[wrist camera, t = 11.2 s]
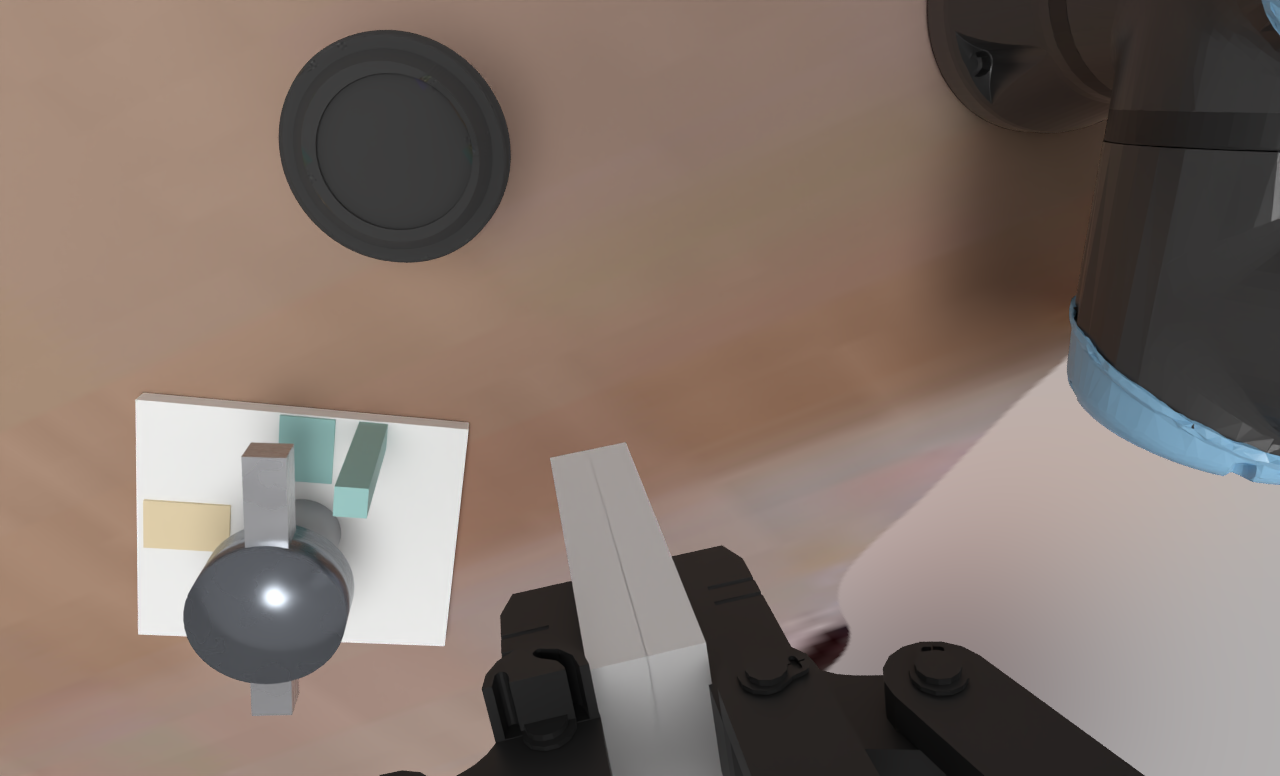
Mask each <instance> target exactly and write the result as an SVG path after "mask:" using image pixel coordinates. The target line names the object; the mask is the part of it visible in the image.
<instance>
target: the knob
mask: <svg viewBox="0 0 1280 776" xmlns="http://www.w3.org/2000/svg"><path fill="white" fill-rule="evenodd" d="M241 463H242V488H243V512H244V529H243V530H241V531H238V532H237V533H235V534H233V535H231V536H230V537H228V538H227V539H226V540H224V541H223V542H222V543H221V544H220V545H219V546H218V547H217V548H216V549H215V550H214V552H213V553H212V554H211V556H210V557H209V559H208V561H207V563H206V564H205V566H204V568H203V569H202V571H201V573H200V574H199V576H198V578H197V579H196V581H195V583H194V584H193V586H192V588H191V590H190V592H189V593H188V596H187V598H186V601H185V605H184V611H183V622H184V629H185V632H186V635H187V638H188V640H189V642H190V644H191V646H192V647H193V649H194V650H195V652H196V653H197V654H198V655H199V657H200V658H201V659H202V660H203V661H204V662H206V663H207V664H208V665H209V666H210V667H212V668H213V669H215V670H216V671H218V672H220V673H222V674H224V675H226V676H228V677H231V678H233V679H236V680H240V681H244V682H248V683H250V684H251V709H252V716H264V715H292V714H293V711H294V707H295V704H296V701H297V698H298V695H299V678H301V677H304V676H306V675H308V674H310V673H312V672H314V671H316V670H317V669H318V668H320V667H321V666H322V665H324V664H325V663H326V662H327V661H328V660H329V659H330V658H331V657H332V655H333V654H334V653H335V652H336V650H337V648H338V647H339V645H340V643H341V641H342V638H343V635H344V632H345V628H346V624H347V620H348V616H349V612H350V609H351V605H352V601H353V597H354V578H353V574H352V571H351V568H350V566H349V563H348V562H347V560H346V558H345V556H344V555H343V554H342V552H341V551H340V550H339V549H338V548H337V547H336V546H335V545H334V544H333V543H332V542H331V541H329V540H328V539H327V538H325V537H324V536H322V535H320V534H318V533H317V532H314V531H312V530H310V529H307V528H304V527H301V526H297V525H296V514H295V464H294V444H286V443H255V442H251V443H250V445H249V446H248V448H247V449H246V451H245V452H244V454H243V455H242V456H241Z"/></svg>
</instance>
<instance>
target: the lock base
mask: <svg viewBox="0 0 1280 776" xmlns="http://www.w3.org/2000/svg"><path fill="white" fill-rule="evenodd" d="M468 430H469V422H459V421H448V420H438V419H427V418H416V417H405V416H394V415H383V414H372V413H361V412H350V411H339V410H329V409H318V408H307V407H296V406H285V405H274V404H263V403H252V402H241V401H231V400H220V399H209V398H198V397H187V396H176V395H165V394H154V393H143V394H141V395H140V396H139V397H138V398H137V399H136V483H137V569H138V634H142V635H168V636H187V635H186V632H185V629H184V622H183V611H184V605H185V601H186V598H187V596H188V593H189V592H190V590H191V588H192V586H193V584H194V583H195V581H196V579H197V578H198V576H199V574H200V573H201V571H202V569H203V568H204V566H205V564H206V563H207V561H208V559H209V557H210V556H211V554H212V553H213V552H214V550H215V549H216V548H217V547H218V546H219V545H220V544H221V543H222V542H223V541H224V540H226V539H227V538H228V537H230V536H231V535H233V534H235V533H237V532H238V531H241V530H243V529H244V512H243V488H242V463H241V456H242V455H243V454H244V452H245V451H246V449H247V448H248V446H249V445H250V443H251V442H255V443H286V444H294V464H295V514H296V525H297V526H301V527H304V528H307V529H310V530H312V531H314V532H317V533H318V534H320V535H322V536H324V537H325V538H327V539H328V540H329V541H331V542H332V543H333V544H334V545H335V546H336V547H337V548H338V549H339V550H340V551H341V552H342V554H343V555H344V556H345V558H346V560H347V562H348V563H349V566H350V568H351V571H352V574H353V578H354V597H353V601H352V605H351V609H350V612H349V616H348V620H347V624H346V628H345V632H344V635H343V638H342V641H341V642H352V643H378V644H405V645H431V646H445V638H446V629H447V620H448V611H449V602H450V593H451V584H452V575H453V566H454V557H455V548H456V539H457V530H458V521H459V512H460V503H461V494H462V484H463V475H464V466H465V457H466V448H467V439H468Z"/></svg>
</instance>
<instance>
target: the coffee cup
mask: <svg viewBox="0 0 1280 776" xmlns="http://www.w3.org/2000/svg"><path fill="white" fill-rule="evenodd" d="M279 150H280V157H281V162H282V166H283V170H284V173H285V176H286V179H287V182H288V184H289V186H290V189H291V191H292V193H293V195H294V196H295V198H296V200H297V201H298V203H299V205H300V206H301V207H302V209H303V210H304V212H305V213H306V214H307V215H308V217H309V218H310V219H311V220H312V221H313V222H314V223H315V224H316V225H317V226H318V227H319V228H320V229H321V230H322V231H323V232H324V233H326V234H327V235H328V236H329V237H331V238H332V239H334V240H335V241H336V242H338V243H340V244H341V245H343V246H345V247H347V248H348V249H350V250H352V251H355V252H357V253H359V254H362V255H365V256H368V257H371V258H375V259H379V260H384V261H391V262H406V263H408V262H422V261H428V260H432V259H436V258H439V257H442V256H445V255H447V254H450V253H452V252H454V251H456V250H457V249H459V248H461V247H462V246H464V245H465V244H467V243H468V242H469V241H471V240H472V239H473V238H474V237H475V236H476V235H477V234H478V233H479V232H480V231H481V230H482V229H483V227H484V226H485V225H486V224H487V223H488V221H489V220H490V219H491V217H492V216H493V214H494V213H495V211H496V209H497V208H498V206H499V204H500V202H501V199H502V197H503V195H504V192H505V189H506V185H507V182H508V177H509V171H510V160H511V150H510V139H509V133H508V128H507V124H506V121H505V118H504V115H503V112H502V110H501V107H500V105H499V103H498V101H497V99H496V97H495V95H494V94H493V92H492V90H491V89H490V87H489V86H488V84H487V83H486V81H485V80H484V79H483V78H482V76H481V75H480V74H479V73H478V72H477V71H476V70H475V69H474V68H473V66H471V65H470V64H469V63H468V62H467V61H466V60H465V59H464V58H462V57H461V56H460V55H458V54H457V53H456V52H454V51H453V50H451V49H449V48H448V47H446V46H444V45H442V44H440V43H439V42H437V41H434V40H432V39H429V38H427V37H424V36H421V35H418V34H414V33H409V32H404V31H396V30H376V31H368V32H362V33H358V34H354V35H351V36H348V37H345V38H343V39H341V40H338V41H336V42H334V43H332V44H331V45H329V46H327V47H326V48H324V49H323V50H321V51H320V52H318V53H317V54H316V55H315V56H314V57H312V58H311V59H310V60H309V61H308V62H307V63H306V65H305V66H304V67H303V68H302V69H301V71H300V72H299V73H298V75H297V76H296V78H295V80H294V82H293V83H292V85H291V87H290V89H289V91H288V94H287V96H286V99H285V102H284V105H283V108H282V112H281V117H280V124H279Z"/></svg>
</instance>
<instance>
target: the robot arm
mask: <svg viewBox="0 0 1280 776" xmlns="http://www.w3.org/2000/svg"><path fill="white" fill-rule="evenodd" d="M928 25H929V33H930V39H931V44H932V48H933V52H934V55H935V58H936V61H937V63H938V66H939V68H940V71H941V73H942V75H943V76H944V78H945V80H946V82H947V83H948V85H949V87H950V88H951V90H952V91H953V92H954V94H955V95H956V96H957V97H958V98H959V100H960V101H961V102H962V103H963V104H964V105H965V106H966V107H967V108H969V109H970V110H971V111H972V112H974V113H975V114H976V115H978V116H979V117H981V118H982V119H984V120H986V121H988V122H990V123H992V124H995V125H997V126H1000V127H1003V128H1006V129H1011V130H1016V131H1025V132H1041V133H1058V132H1066V131H1071V130H1076V129H1081V128H1084V127H1088V126H1090V125H1093V124H1096V123H1098V122H1101V121H1103V120H1105V119H1107V118H1108V120H1107V125H1106V131H1105V137H1104V141H1103V144H1102V150H1101V156H1100V161H1099V167H1098V173H1097V179H1096V184H1095V190H1094V196H1093V201H1092V207H1091V213H1090V219H1089V224H1088V230H1087V236H1086V242H1085V247H1084V253H1083V259H1082V265H1081V270H1080V276H1079V282H1078V287H1077V293H1076V295H1075V296H1074V297H1073V298H1072V300H1071V304H1070V308H1069V319H1070V323H1071V327H1072V330H1071V338H1070V346H1069V354H1068V363H1067V375H1068V381H1069V384H1070V386H1071V388H1072V389H1073V391H1074V393H1075V395H1076V397H1077V400H1078V402H1079V403H1080V404H1081V406H1082V407H1083V408H1084V409H1085V410H1086V411H1087V412H1088V413H1089V414H1090V415H1091V416H1092V417H1093V418H1094V419H1095V420H1096V421H1098V422H1099V423H1100V424H1102V425H1103V426H1105V427H1106V428H1107V429H1109V430H1110V431H1111V432H1113V433H1115V434H1116V435H1118V436H1119V437H1121V438H1123V439H1125V440H1127V441H1129V442H1131V443H1132V444H1134V445H1136V446H1138V447H1141V448H1143V449H1145V450H1147V451H1149V452H1151V453H1153V454H1156V455H1158V456H1161V457H1163V458H1166V459H1168V460H1171V461H1173V462H1176V463H1179V464H1182V465H1185V466H1188V467H1191V468H1194V469H1198V470H1201V471H1205V472H1208V473H1212V474H1217V475H1221V476H1224V475H1226V474H1228V473H1229V472H1233V473H1235V474H1238V475H1240V476H1242V477H1244V478H1246V479H1248V480H1250V481H1252V482H1257V483H1266V484H1275V485H1280V0H928ZM550 460H551V466H552V472H553V477H554V483H555V489H556V494H557V500H558V506H559V511H560V517H561V523H562V528H563V534H564V540H565V545H566V551H567V557H568V562H569V568H570V574H571V579H572V581H570V582H565V583H561V584H556V585H552V586H547V587H543V588H538V589H534V590H529V591H525V592H520V593H516V594H512V596H511V598H510V600H509V601H508V603H507V605H506V606H505V608H504V610H503V612H502V613H501V615H500V618H501V639H502V640H501V653H502V659H500V660H499V661H497V662H496V663H495V665H494V666H493V667H492V668H491V669H490V671H489V672H488V673H487V674H486V676H485V680H484V683H483V687H482V692H483V695H484V699H485V703H486V707H487V711H488V715H489V718H490V722H491V726H492V730H493V734H494V738H495V742H496V744H495V745H494V746H493V747H492V749H491V750H490V751H489V752H488V754H487V755H486V756H484V757H483V758H482V759H481V760H480V761H479V762H478V763H476V764H475V765H474V766H472V767H471V768H469V769H467V770H466V771H464V772H462V773H461V774H459V775H457V776H1144V775H1143V774H1142V773H1140V772H1139V771H1137V770H1136V769H1135V768H1133V767H1132V766H1131V765H1129V764H1128V763H1127V762H1125V761H1124V760H1122V759H1121V758H1120V757H1118V756H1117V755H1116V754H1114V753H1113V752H1111V751H1110V750H1109V749H1107V748H1106V747H1104V746H1103V745H1102V744H1100V743H1099V742H1098V741H1096V740H1095V739H1094V738H1092V737H1091V736H1090V735H1088V734H1087V733H1085V732H1084V731H1083V730H1081V729H1080V728H1079V727H1077V726H1076V725H1074V724H1073V723H1072V722H1070V721H1069V720H1068V719H1066V718H1065V717H1063V716H1062V715H1060V714H1059V713H1058V712H1057V711H1055V710H1054V709H1052V708H1051V707H1050V706H1048V705H1047V704H1046V703H1044V702H1043V701H1041V700H1040V699H1039V698H1037V697H1036V696H1034V695H1033V694H1032V693H1031V692H1029V691H1028V690H1026V689H1025V688H1024V687H1022V686H1021V685H1019V684H1018V683H1017V682H1015V681H1014V680H1013V679H1011V678H1009V676H1007V675H1006V674H1004V673H1003V672H1002V671H1000V670H999V669H997V668H996V667H995V666H993V665H992V664H991V663H989V662H988V661H986V660H985V659H984V658H982V657H981V656H980V655H978V654H975V653H974V652H972V651H970V650H968V649H966V648H964V647H962V646H958V645H954V644H949V643H945V642H919V643H915V644H911V645H907V646H904V647H902V648H900V649H899V650H897V651H896V652H895V653H893V654H892V655H890V656H889V658H888V660H887V662H886V663H885V665H884V667H883V675H879V676H878V675H875V676H853V675H841V674H834V673H830V672H826V671H822V670H820V669H818V667H817V665H816V664H815V663H814V662H813V661H812V660H811V659H810V658H809V657H808V656H807V654H805V653H803V652H801V651H799V650H797V649H795V648H792V647H791V646H790V644H789V642H788V640H787V638H786V637H785V635H784V633H783V631H782V629H781V627H780V626H779V624H778V622H777V620H776V618H775V617H774V615H773V613H772V611H771V609H770V607H769V606H768V604H767V602H766V600H765V598H764V597H763V595H761V591H760V589H759V588H758V586H757V584H756V582H755V580H753V577H752V575H751V573H750V571H749V569H748V568H747V566H746V564H745V562H744V560H743V559H742V558H741V557H739V556H738V555H736V554H735V553H733V552H731V551H730V550H728V549H727V548H725V547H724V546H717V547H713V548H708V549H704V550H699V551H695V552H690V553H686V554H681V555H677V556H672V557H671V554H670V552H669V549H668V547H667V544H666V542H665V539H664V537H663V534H662V532H661V529H660V527H659V524H658V522H657V519H656V517H655V514H654V512H653V509H652V507H651V504H650V502H649V499H648V497H647V494H646V492H645V489H644V487H643V484H642V482H641V479H640V477H639V474H638V472H637V469H636V467H635V464H634V462H633V459H632V457H631V454H630V452H629V449H628V447H627V444H626V442H625V443H620V444H615V445H610V446H605V447H601V448H596V449H591V450H586V451H581V452H576V453H571V454H567V455H562V456H557V457H552V458H550ZM380 776H426V775H424V774H423V773H421V772H412V771H397V772H393V773H388V774H383V775H380Z"/></svg>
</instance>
